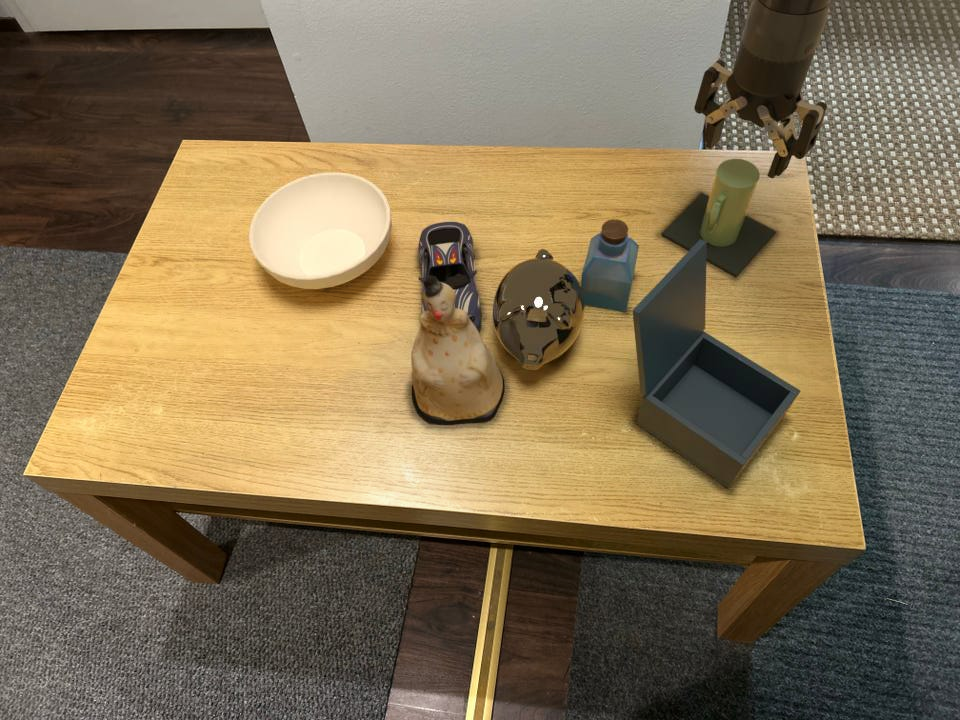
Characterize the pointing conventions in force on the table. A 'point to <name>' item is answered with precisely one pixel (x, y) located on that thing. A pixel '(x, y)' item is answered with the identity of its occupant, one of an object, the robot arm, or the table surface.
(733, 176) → the pale green cylinder
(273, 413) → the table surface
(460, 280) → the toy car
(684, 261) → the lid
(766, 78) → the robot arm
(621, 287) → the perfume bottle
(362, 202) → the bowl
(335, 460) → the table surface
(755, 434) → the box
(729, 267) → the mat
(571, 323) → the piggy bank
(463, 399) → the figurine
